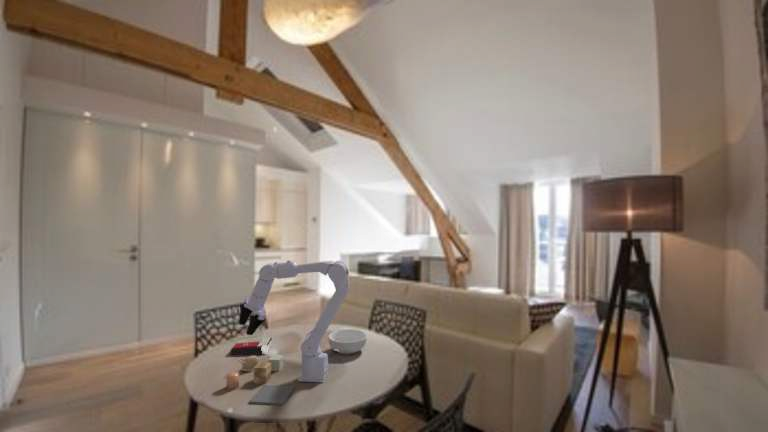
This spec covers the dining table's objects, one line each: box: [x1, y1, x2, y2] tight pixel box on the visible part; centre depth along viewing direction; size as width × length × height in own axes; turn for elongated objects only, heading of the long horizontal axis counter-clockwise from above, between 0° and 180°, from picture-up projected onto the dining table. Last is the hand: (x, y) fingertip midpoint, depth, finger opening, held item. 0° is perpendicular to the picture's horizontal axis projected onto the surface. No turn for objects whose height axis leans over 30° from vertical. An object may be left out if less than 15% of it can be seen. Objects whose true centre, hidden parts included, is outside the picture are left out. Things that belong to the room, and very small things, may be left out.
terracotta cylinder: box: [225, 371, 240, 391], centre depth 120 cm, size 4×4×4 cm
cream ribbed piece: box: [238, 355, 260, 372], centre depth 134 cm, size 4×8×5 cm, turn 129°
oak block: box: [253, 361, 272, 385], centre depth 125 cm, size 4×4×6 cm
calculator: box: [230, 337, 273, 357], centre depth 153 cm, size 11×4×15 cm
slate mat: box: [248, 384, 295, 406], centre depth 114 cm, size 11×11×1 cm
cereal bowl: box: [328, 328, 368, 355], centre depth 153 cm, size 17×17×7 cm
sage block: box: [267, 354, 285, 372], centre depth 135 cm, size 4×4×4 cm
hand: (245, 329), depth 127 cm, fingers open, 7 cm apart
